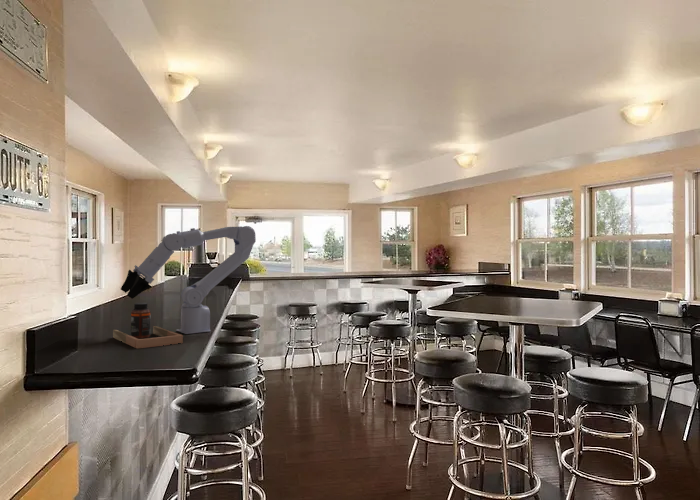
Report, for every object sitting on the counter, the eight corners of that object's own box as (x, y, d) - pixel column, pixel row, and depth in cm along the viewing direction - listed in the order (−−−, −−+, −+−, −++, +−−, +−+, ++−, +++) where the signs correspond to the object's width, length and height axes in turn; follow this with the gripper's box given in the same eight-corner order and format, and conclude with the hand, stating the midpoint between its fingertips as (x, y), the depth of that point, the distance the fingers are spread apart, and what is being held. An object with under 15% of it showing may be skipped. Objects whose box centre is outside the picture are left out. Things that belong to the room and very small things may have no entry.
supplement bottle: (153, 336, 171) (154, 302, 171) (144, 339, 165) (145, 304, 165) (136, 335, 171) (137, 301, 171) (127, 339, 165) (127, 303, 165)
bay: (155, 333, 176) (156, 326, 176) (182, 343, 161) (182, 335, 160) (113, 337, 167) (113, 329, 167) (136, 348, 151) (137, 340, 151)
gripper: (138, 251, 178) (110, 281, 174) (152, 259, 167) (122, 292, 163) (154, 263, 182) (127, 293, 179) (168, 272, 171) (139, 305, 167)
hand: (126, 294), depth 171 cm, fingers open, 7 cm apart
